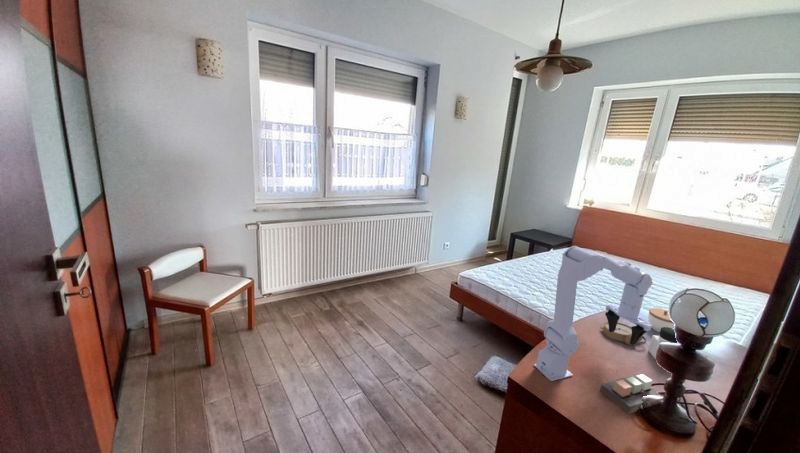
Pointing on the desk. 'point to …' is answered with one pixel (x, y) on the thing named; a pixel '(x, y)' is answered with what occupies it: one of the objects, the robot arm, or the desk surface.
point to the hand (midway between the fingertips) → (621, 337)
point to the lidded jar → (659, 319)
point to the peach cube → (622, 388)
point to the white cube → (644, 381)
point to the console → (626, 402)
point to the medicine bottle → (662, 339)
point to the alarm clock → (621, 333)
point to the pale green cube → (634, 384)
